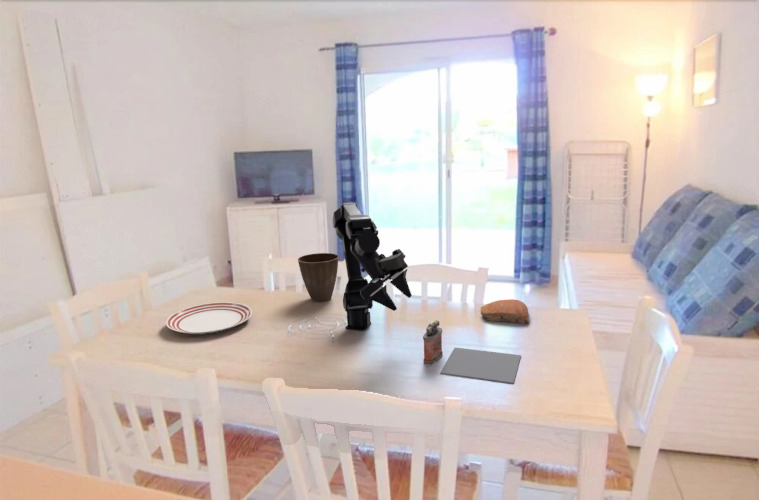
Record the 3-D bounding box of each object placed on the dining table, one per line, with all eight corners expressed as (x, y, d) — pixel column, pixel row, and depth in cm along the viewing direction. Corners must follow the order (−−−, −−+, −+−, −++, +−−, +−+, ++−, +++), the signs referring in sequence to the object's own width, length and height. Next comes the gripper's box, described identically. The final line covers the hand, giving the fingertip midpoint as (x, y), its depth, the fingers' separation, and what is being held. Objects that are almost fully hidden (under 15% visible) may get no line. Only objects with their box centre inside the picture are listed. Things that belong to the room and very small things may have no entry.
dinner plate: (269, 320, 171) (268, 310, 170) (195, 347, 151) (194, 337, 150) (223, 305, 188) (222, 296, 188) (151, 328, 168) (149, 318, 167)
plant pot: (293, 303, 186) (290, 261, 183) (312, 291, 200) (309, 252, 196) (330, 306, 181) (327, 263, 178) (347, 294, 195) (345, 253, 191)
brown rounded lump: (482, 293, 174) (526, 300, 171) (479, 311, 175) (523, 319, 172) (482, 301, 159) (531, 309, 157) (479, 321, 160) (527, 329, 158)
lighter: (432, 365, 132) (431, 329, 130) (420, 363, 134) (419, 327, 132) (445, 354, 139) (444, 319, 137) (434, 351, 141) (433, 317, 139)
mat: (440, 373, 128) (440, 372, 128) (454, 348, 142) (454, 347, 142) (513, 383, 121) (513, 382, 121) (520, 356, 136) (520, 355, 136)
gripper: (370, 254, 130) (407, 302, 129) (403, 233, 145) (436, 277, 144) (344, 275, 136) (380, 322, 135) (378, 254, 151) (410, 295, 150)
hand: (403, 303), depth 141 cm, fingers open, 9 cm apart
